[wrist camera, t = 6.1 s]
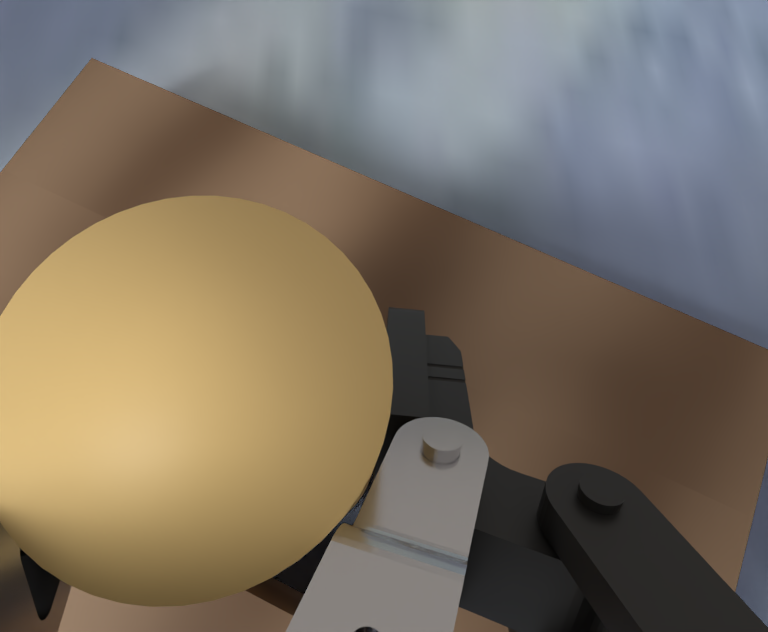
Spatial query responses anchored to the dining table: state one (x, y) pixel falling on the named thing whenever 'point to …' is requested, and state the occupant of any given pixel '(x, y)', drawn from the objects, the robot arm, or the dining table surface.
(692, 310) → the dining table surface
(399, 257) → the walnut pocket board
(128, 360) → the ochre peg
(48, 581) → the robot arm
